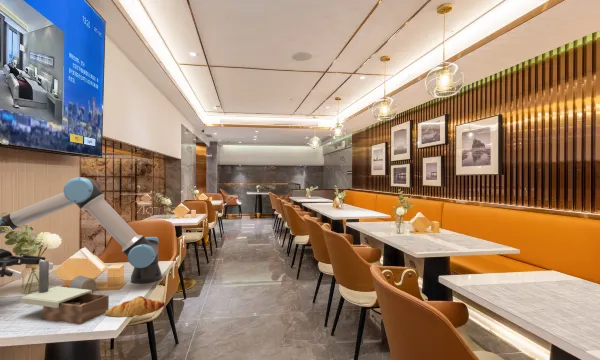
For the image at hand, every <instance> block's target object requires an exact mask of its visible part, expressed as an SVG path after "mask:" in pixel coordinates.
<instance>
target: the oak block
mask: <svg viewBox="0 0 600 360" xmlns="http://www.w3.org/2000/svg"><path fill="white" fill-rule="evenodd" d="M67 304H73V305H80V302H70V303H67Z"/></svg>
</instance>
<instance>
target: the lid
mask: <svg viewBox="0 0 600 360" xmlns="http://www.w3.org/2000/svg"><path fill="white" fill-rule="evenodd" d="M49 262H50V261H49V260H45V261H43V262H39V265H38V267H39V268H38V270H39V271H38V291H37V292H34V293H29V294H27V295H24V296H22V297H20V303H21V304H26V305H32V306H33V305H34V306H39V307H40V306H41V307H44V306H47V307H54V308H58V307H59V303H62V302H65V301H67V300H70V299H73V298H76V297H79V296H81V295H84V294H87V293H92V294H93V291H92V290H86V289H77V288H70V287H67V286H58V285H56V286H54V287H51V288H49V287H50V286H49V282H50V281H49V280H50V279H49V278H50V270H49Z"/></svg>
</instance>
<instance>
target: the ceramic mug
mask: <svg viewBox="0 0 600 360" xmlns="http://www.w3.org/2000/svg"><path fill="white" fill-rule="evenodd" d="M69 288H77V289H86V290H92V292H93V291H94V290H98V289H99V288H100V287H99V285H97V284H96V280H94V279H93V278H91V277H87V276H84V275H79V276H78V275H77V276H76V277H74V278H73V279H72V281H71V282H70V285H69Z"/></svg>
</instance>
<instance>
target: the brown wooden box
mask: <svg viewBox="0 0 600 360" xmlns="http://www.w3.org/2000/svg"><path fill="white" fill-rule="evenodd" d="M109 298H110V296H109V294H102V293H101V294H99V293H93V292H92V293H87V294H84V295H81V296H79V297H76V298H73V299H70V300H67V301H65V302H62V303H59V307H58V308H54V307H47V306H43V307H42V308H43V309H42V310H43V312H42V313H43V314H42V315H43V317H42V318H43V320H47V321H55V322H60V323H61V322H63V323H67V324H68V323H69V324H74V325H82V324H85V323H86V322H88V321H90V320H93V319H95V318H97V317H100V316H103V315H104V314H106V313H105V312H106V310H110V309H109V307H110V305H109V303H110V302H109V301H110V300H109ZM70 302H80V305H81V306H80V305H73V304H67V303H70ZM84 303H86V304H84ZM82 304H83V305H82Z"/></svg>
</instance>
